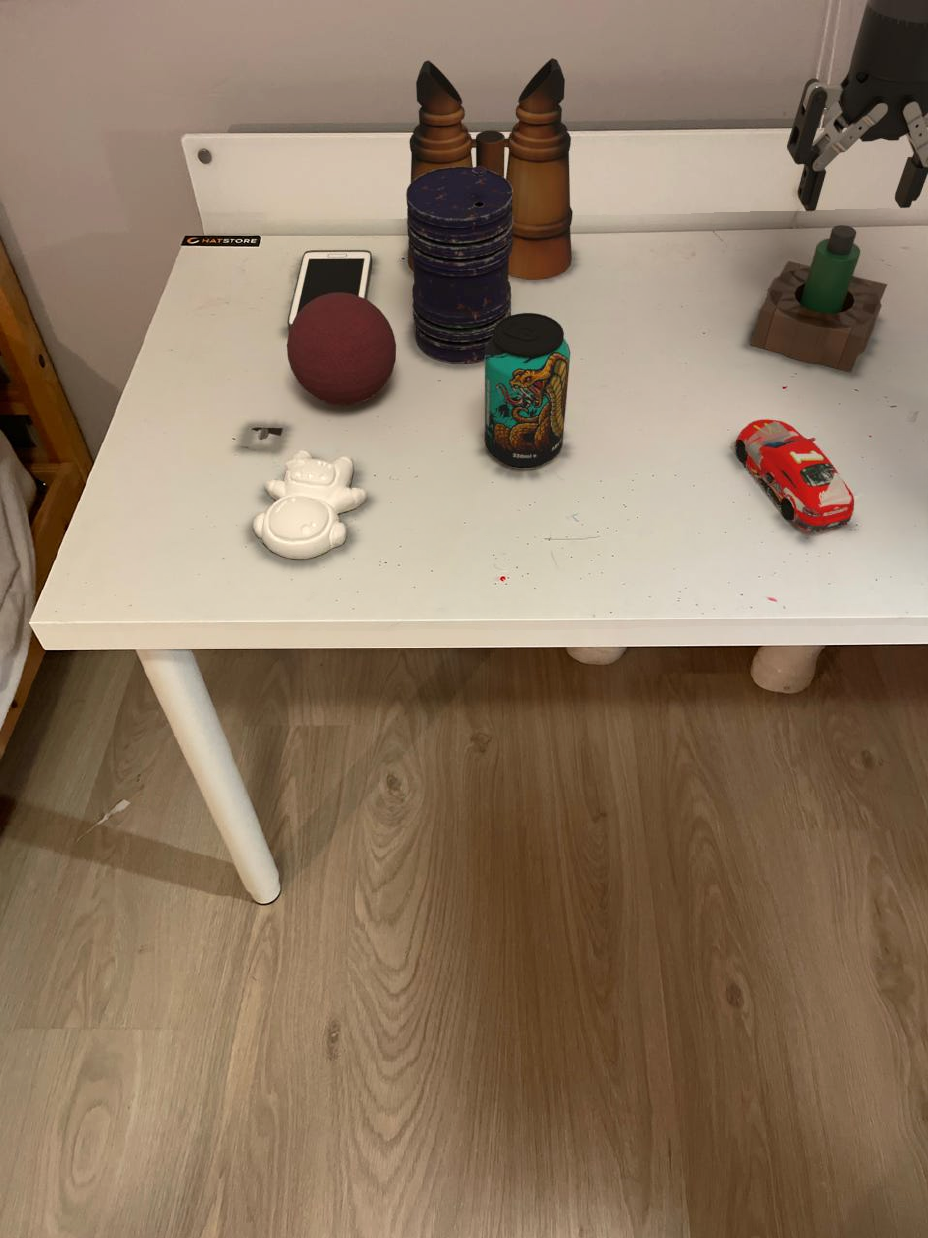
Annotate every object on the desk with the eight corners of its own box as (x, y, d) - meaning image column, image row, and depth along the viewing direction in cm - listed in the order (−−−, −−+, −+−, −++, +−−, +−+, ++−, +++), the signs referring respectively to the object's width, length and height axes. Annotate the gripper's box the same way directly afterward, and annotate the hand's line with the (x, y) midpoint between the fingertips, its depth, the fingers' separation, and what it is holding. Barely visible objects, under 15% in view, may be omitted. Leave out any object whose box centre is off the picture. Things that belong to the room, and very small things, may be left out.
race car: (723, 443, 84) (732, 407, 81) (777, 430, 85) (788, 395, 82) (797, 543, 76) (811, 508, 73) (856, 528, 77) (871, 493, 74)
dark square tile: (276, 450, 85) (273, 441, 84) (245, 449, 85) (242, 440, 84) (283, 428, 87) (280, 418, 86) (252, 427, 87) (248, 417, 86)
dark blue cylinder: (395, 330, 96) (380, 153, 82) (470, 296, 100) (468, 121, 86) (453, 377, 91) (447, 197, 77) (530, 339, 95) (538, 161, 81)
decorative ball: (280, 382, 91) (261, 290, 83) (372, 351, 94) (362, 259, 86) (321, 440, 85) (305, 347, 78) (418, 405, 88) (411, 312, 81)
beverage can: (538, 483, 81) (546, 369, 72) (470, 456, 84) (468, 342, 74) (575, 437, 85) (587, 323, 76) (509, 413, 87) (512, 299, 78)
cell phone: (373, 257, 105) (372, 249, 104) (362, 334, 96) (361, 325, 95) (305, 257, 105) (303, 249, 104) (287, 334, 96) (285, 326, 95)
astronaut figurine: (381, 471, 83) (378, 445, 80) (332, 569, 76) (327, 543, 73) (290, 454, 84) (285, 428, 82) (233, 548, 77) (226, 522, 75)
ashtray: (878, 318, 96) (891, 283, 93) (853, 375, 90) (866, 339, 87) (776, 292, 99) (785, 257, 96) (746, 346, 93) (755, 310, 90)
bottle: (837, 326, 95) (871, 225, 87) (827, 347, 93) (861, 245, 85) (798, 316, 96) (828, 215, 88) (787, 336, 94) (817, 235, 86)
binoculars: (406, 280, 102) (391, 84, 86) (409, 241, 107) (396, 49, 91) (574, 278, 101) (590, 81, 86) (569, 239, 107) (583, 46, 91)
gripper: (841, 21, 69) (787, 229, 82) (1031, 14, 69) (948, 223, 82) (813, -14, 74) (766, 188, 87) (991, -21, 74) (918, 182, 87)
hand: (854, 205), depth 84 cm, fingers open, 8 cm apart
